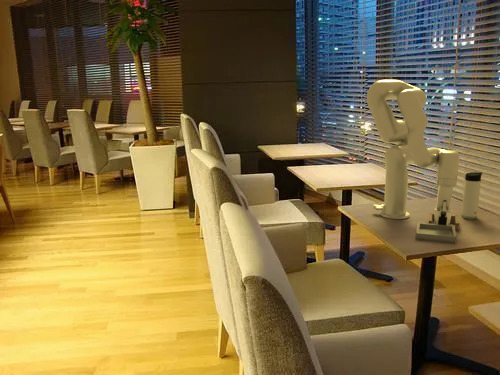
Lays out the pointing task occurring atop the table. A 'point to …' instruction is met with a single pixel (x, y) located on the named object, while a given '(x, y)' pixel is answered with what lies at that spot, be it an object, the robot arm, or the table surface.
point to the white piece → (437, 214)
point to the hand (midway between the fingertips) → (441, 223)
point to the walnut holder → (453, 220)
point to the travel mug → (471, 195)
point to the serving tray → (436, 232)
